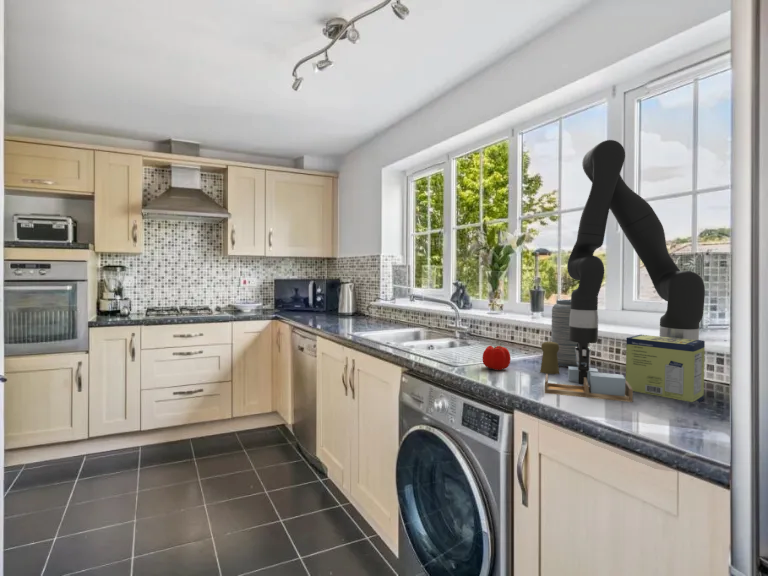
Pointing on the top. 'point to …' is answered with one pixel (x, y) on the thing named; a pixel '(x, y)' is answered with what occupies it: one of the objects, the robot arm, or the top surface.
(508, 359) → the tomato
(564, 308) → the vase
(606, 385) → the pale blue sponge block
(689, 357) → the protein box
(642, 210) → the robot arm
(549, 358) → the cork
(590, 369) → the grey blue block
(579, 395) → the rack
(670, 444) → the top surface
